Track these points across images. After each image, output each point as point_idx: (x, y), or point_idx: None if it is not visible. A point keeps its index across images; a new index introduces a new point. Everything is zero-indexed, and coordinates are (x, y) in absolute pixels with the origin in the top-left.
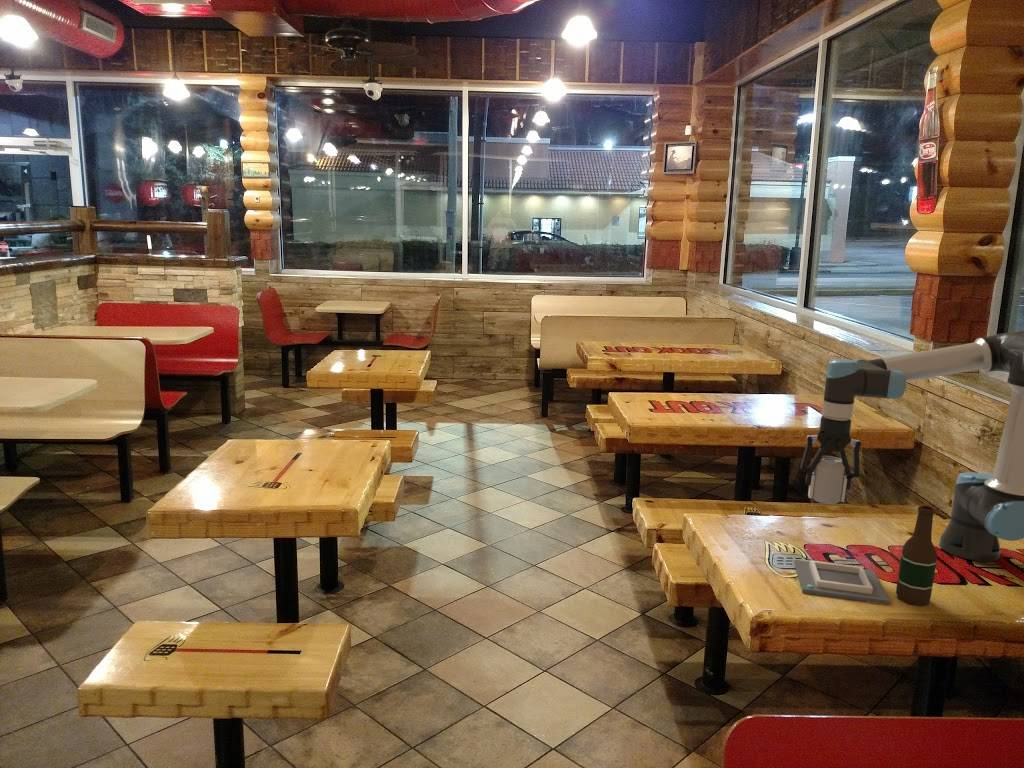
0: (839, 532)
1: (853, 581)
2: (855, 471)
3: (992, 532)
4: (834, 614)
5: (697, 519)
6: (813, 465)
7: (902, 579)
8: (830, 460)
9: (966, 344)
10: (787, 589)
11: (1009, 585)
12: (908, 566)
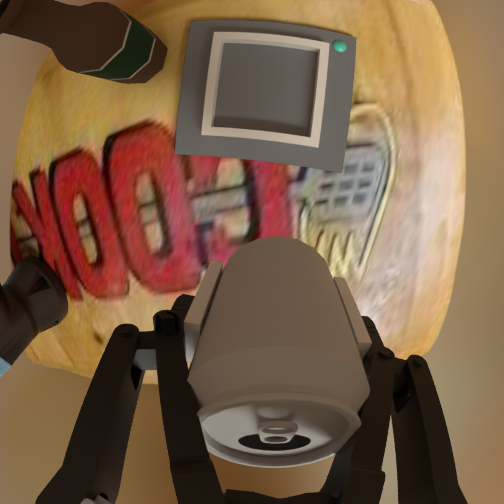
0: None
1: (237, 82)
2: (127, 348)
3: None
4: None
5: (430, 338)
6: (384, 387)
7: (149, 33)
8: (295, 424)
9: None
10: (379, 52)
11: (15, 182)
12: (130, 18)
